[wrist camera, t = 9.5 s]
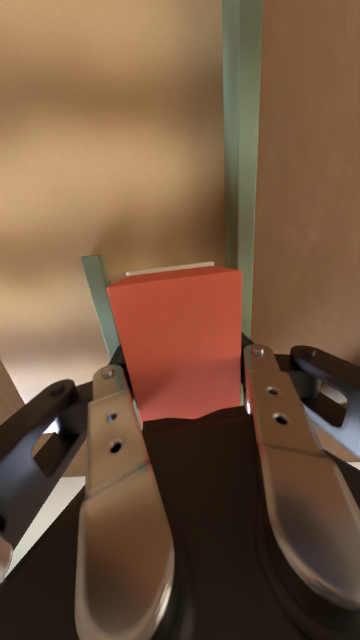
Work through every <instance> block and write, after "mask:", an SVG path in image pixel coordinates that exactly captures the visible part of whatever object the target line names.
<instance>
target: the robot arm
mask: <svg viewBox="0 0 360 640" xmlns="http://www.w3.org/2000/svg"><path fill="white" fill-rule="evenodd" d="M321 381H322V382H323V383H325V384H327V385H329V386H330V387H332V388H334V389H335V390H337V391H339V392H340V393H342V394H343V395H344V396H345V398H346V399H347V401H348V408H347V409H346V408H345V407H343V406H342V405H340V404H338V403H337V402H335V401H334V400H332V399H331V398H329V397H328V396H326V395H325V394H323V393H321V392H320V386H321ZM241 383H242V385H243V404H244V405H243V406H236V407H230V408H224V409H219V410H217V411H214V412H212V413H209V414H207V415H205V416H202V417H200V418H197V419H184V418H170V417H168V418H162V419H155V420H149V421H143V428H142V431H141V429H140V425H139V422H138V418H137V415H136V412H135V408H134V405H133V400H135V397H134V393H133V389H132V385H131V382H130V378H129V374H128V370H127V366H126V362H125V358H124V354H123V351H122V347H121V344H120V345H119V346H118V347H117V348H116V350H115V352H114V354H113V356H112V358H111V360H110V362H109V364H108V366H105V367H103V368H101V369H99V370H98V371H97V372H96V373H95V374H94V375H93V380H92V381H90V382H87V383H84V384H81V385H78V386H76V385H75V383H74V381H73V380H71V379H64V380H60V381H57V382H54V383H52V384H51V385H49V386H47V387H46V388H45V389H43V390H42V391H41V392H40V393H39V394H37V395H36V396H35V397H34V398H33V399H31V400H30V401H29V402H28V403H27V404H26V405H24V406H23V407H22V408H21V409H20V410H18V411H17V412H16V413H15V414H14V415H12V416H11V417H10V418H9V419H8V420H7V421H5V422H4V423H3V424H2V425H1V426H0V640H360V470H358V469H357V468H355V467H353V466H352V465H350V464H348V463H347V462H345V461H343V460H341V459H340V458H338V457H336V456H335V455H333V454H331V453H330V452H328V451H326V450H324V449H323V448H322V446H321V443H320V441H319V439H318V437H317V435H316V433H315V430H314V428H313V426H312V424H311V422H310V419H311V420H312V421H314V422H315V423H316V424H317V425H318V426H320V427H321V428H322V429H323V430H325V431H326V432H327V433H328V434H329V435H331V436H332V437H333V438H334V439H336V440H337V441H338V442H339V443H340V444H342V445H343V446H344V447H345V448H346V449H348V450H349V451H350V452H351V453H353V454H354V455H355V456H356V457H357V458H359V459H360V367H359V366H356V365H354V364H352V363H349V362H347V361H345V360H343V359H340V358H338V357H336V356H333V355H331V354H329V353H326V352H324V351H322V350H320V349H317V348H314V347H311V346H303V345H300V346H294V347H292V348H291V351H290V355H284V354H274V353H273V351H272V350H271V349H270V348H269V347H267V346H264V345H259V344H254V343H253V342H252V341H251V340H250V339H249V338H248V337H247V336H246V335H245V334H244V333H243V332H242V331H241ZM309 418H310V419H309ZM51 424H52V426H53V428H54V430H55V433H54V434H53V435H52V436H51V437H50V439H49V440H48V441H47V442H46V443H45V444H44V446H43V447H42V448H41V449H40V450H39V452H38V453H37V454H36V455H35V456H34V458H33V456H32V449H33V446H34V444H35V442H36V441H37V440H38V439H39V437H40V436H41V435H42V434H43V433H44V432H45V431H46V430H47V429H48V427H49V426H50V425H51ZM86 437H87V451H86V483H85V485H84V487H83V488H82V489H81V490H80V491H79V493H78V494H77V495H76V496H75V497H74V499H72V501H71V502H70V503H69V505H67V506H66V508H65V509H64V510H63V511H62V512H61V514H60V515H59V516H58V517H57V518H56V519H55V521H54V522H53V523H52V524H51V525H50V526H49V528H48V529H47V530H46V531H45V532H44V534H43V535H42V536H41V537H40V538H39V539H38V540H37V542H36V543H35V544H34V545H33V546H32V547H31V549H30V550H29V551H28V552H27V553H26V555H25V556H24V557H23V558H22V559H21V560H20V562H19V563H18V564H17V565H16V566H15V567H14V569H13V570H12V571H11V572H10V573H9V575H8V576H7V577H5V575H6V573H7V571H8V569H9V566H10V563H11V560H12V555H13V554H12V553H13V551H14V549H15V548H16V546H17V545H18V543H19V541H20V540H21V538H22V537H23V535H24V534H25V532H26V531H27V529H28V528H29V526H30V524H31V523H32V521H33V520H34V518H35V517H36V515H37V513H38V512H39V510H40V509H41V507H42V506H43V504H44V503H45V501H46V499H47V498H48V496H49V495H50V493H51V492H52V490H53V489H54V487H55V486H56V484H57V482H58V481H59V479H60V478H61V476H62V475H63V473H64V472H65V470H66V469H67V467H68V465H69V464H70V462H71V461H72V459H73V458H74V456H75V455H76V453H77V451H78V450H79V448H80V447H81V445H82V444H83V442H84V441H85V439H86Z"/></svg>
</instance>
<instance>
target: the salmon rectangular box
mask: <svg viewBox="0 0 360 640" xmlns="http://www.w3.org/2000/svg"><path fill="white" fill-rule="evenodd" d="M126 275H127V277H125V278H123V279H121V280H119V281H117V282H115V283H114V284H112V285H110V286H108V287H107V293H108V297H109V300H110V304H111V308H112V312H113V316H114V320H115V324H116V327H117V331H118V335H119V339H120V343H121V347H122V351H123V354H124V358H125V362H126V366H127V370H128V374H129V378H130V382H131V385H132V389H133V393H134V397H135V401H136V405H137V409H138V412H139V416H140V420H141V424H142V428H143V421H149V420H155V419H162V418H168V417H170V418H184V419H197V418H200V417H202V416H205V415H207V414H209V413H212V412H214V411H217V410H219V409H224V408H230V407H236V406H240V397H241V322H242V270H237V269H231V268H225V267H219V266H214V262H211V261H206V262H198V263H190V264H182V265H173V266H165V267H157V268H149V269H140V270H132V271H128V272H126Z"/></svg>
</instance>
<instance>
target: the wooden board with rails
mask: <svg viewBox="0 0 360 640" xmlns="http://www.w3.org/2000/svg"><path fill="white" fill-rule="evenodd" d="M262 24H263V0H0V359H1V361H2V362H3V364H4V366H5V368H6V370H7V372H8V373H9V375H10V377H11V379H12V381H13V383H14V384H15V386H16V388H17V390H18V392H19V394H20V395H21V397H22V399H23V401H24V403H25V404H27V403H28V402H29V401H30V400H31V399H33V398H34V397H35V396H36V395H37V394H39V393H40V392H41V391H42V390H43V389H45V388H46V387H47V386H49V385H51V384H52V383H54V382H57V381H60V380H64V379H71V380H73V381H74V383H75V385H76V386H78V385H81V384H84V383H87V382H90V381H92V380H93V375H94V374H95V373H96V372H97V371H98V370H99V369H101V368H103V367H105V366H108V364H109V362H110V360H111V358H112V356H113V354H114V352H115V350H116V348H117V347H118V346H119V345H120V344H121V343H120V339H119V335H118V331H117V327H116V324H115V320H114V316H113V312H112V308H111V304H110V300H109V297H108V293H107V287H108V286H110V285H112V284H114V283H115V282H117V281H119V280H121V279H123V278H125V277H127V275H126V272H128V271H132V270H140V269H149V268H157V267H165V266H173V265H182V264H190V263H198V262H206V261H211V262H214V266H219V267H225V268H231V269H237V270H242V322H241V331H242V332H243V333H244V334H245V335H246V336H247V337H248V338H249V339H250V336H251V310H252V284H253V258H254V232H255V206H256V180H257V154H258V128H259V102H260V76H261V50H262ZM133 405H134V408H135V412H136V415H137V418H138V422H139V425H140V429H141V430H142V424H141V420H140V416H139V412H138V409H137V405H136V401H135V400H133ZM243 405H244V404H243V385H242V383H241V397H240V406H243ZM50 432H55V430H54V428H53V426H52V424H51V425H50V426H49V427H48V429H47V430H46V431H45V432H44V433H50Z"/></svg>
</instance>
